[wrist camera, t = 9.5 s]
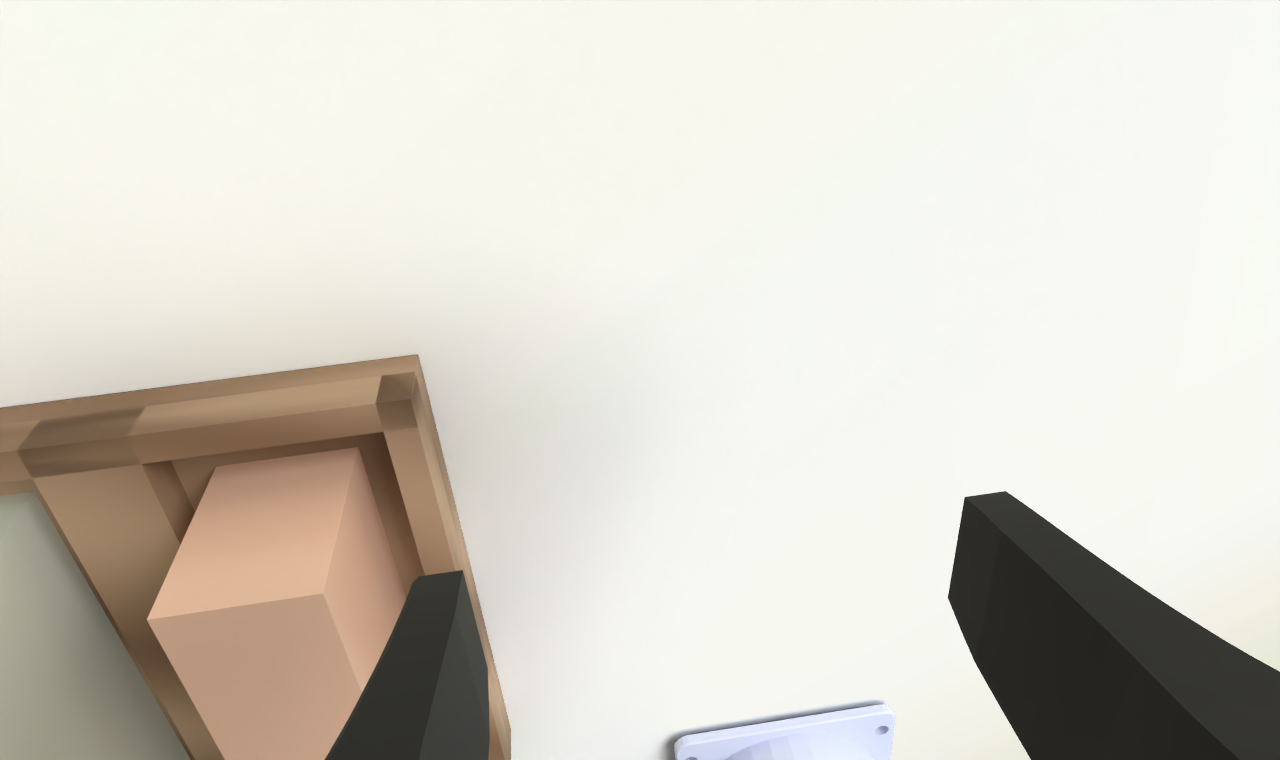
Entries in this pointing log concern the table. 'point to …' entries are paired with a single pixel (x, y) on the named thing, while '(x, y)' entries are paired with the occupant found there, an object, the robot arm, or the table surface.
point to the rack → (183, 465)
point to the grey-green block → (65, 657)
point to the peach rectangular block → (280, 603)
